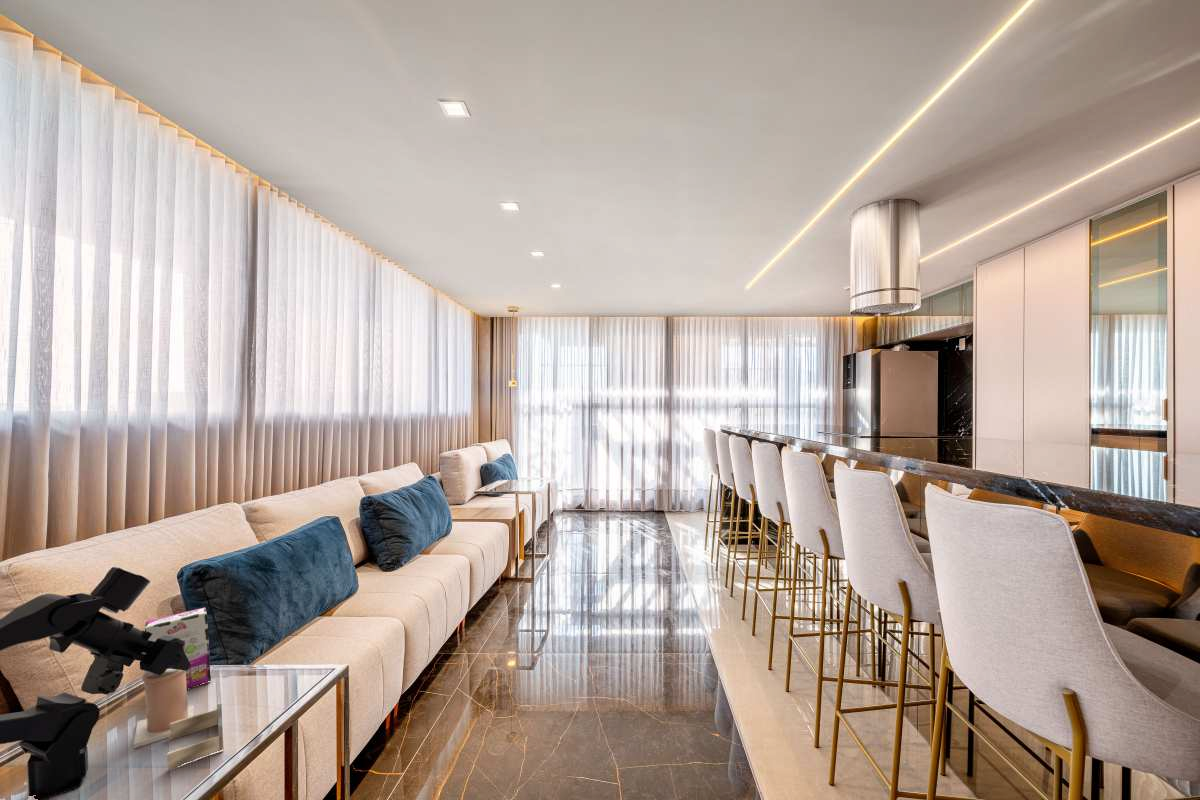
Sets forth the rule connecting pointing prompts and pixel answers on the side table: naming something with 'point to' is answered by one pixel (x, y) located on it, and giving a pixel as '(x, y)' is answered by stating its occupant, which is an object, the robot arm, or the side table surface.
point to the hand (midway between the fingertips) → (173, 664)
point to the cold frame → (194, 725)
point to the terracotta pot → (165, 699)
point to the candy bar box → (187, 641)
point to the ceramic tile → (148, 737)
